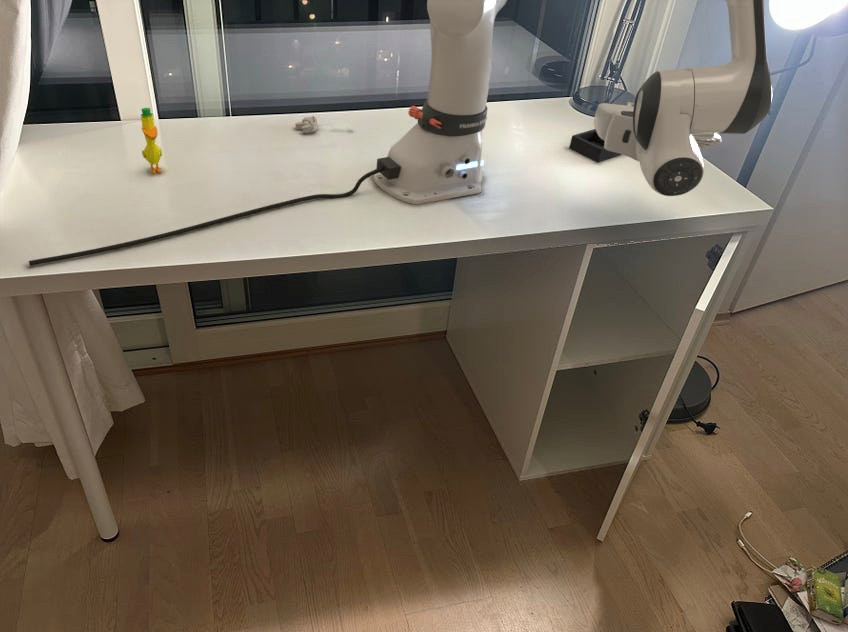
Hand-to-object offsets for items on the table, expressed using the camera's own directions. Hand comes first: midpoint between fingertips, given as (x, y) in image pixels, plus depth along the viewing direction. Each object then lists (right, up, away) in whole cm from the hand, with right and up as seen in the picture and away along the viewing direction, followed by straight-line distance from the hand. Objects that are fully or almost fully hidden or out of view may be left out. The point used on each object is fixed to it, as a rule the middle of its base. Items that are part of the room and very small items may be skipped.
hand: (648, 108), depth 129 cm
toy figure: (-92, -10, +6) cm, 93 cm away
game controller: (-61, +4, +25) cm, 67 cm away
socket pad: (+1, +1, +27) cm, 27 cm away
